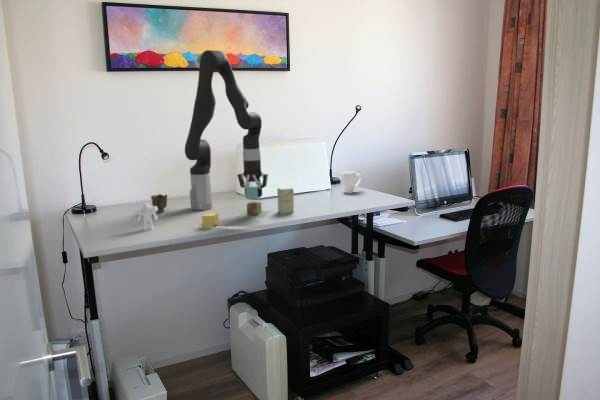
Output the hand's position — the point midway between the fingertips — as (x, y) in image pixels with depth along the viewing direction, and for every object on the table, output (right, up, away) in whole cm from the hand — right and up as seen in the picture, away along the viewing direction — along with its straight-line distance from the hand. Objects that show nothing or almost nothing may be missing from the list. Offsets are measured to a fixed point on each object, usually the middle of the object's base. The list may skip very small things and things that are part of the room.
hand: (253, 196), depth 210 cm
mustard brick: (-17, -13, -12) cm, 24 cm away
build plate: (0, -9, +2) cm, 9 cm away
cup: (-46, -7, +15) cm, 49 cm away
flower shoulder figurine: (-42, -14, -14) cm, 47 cm away
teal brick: (0, -1, 0) cm, 0 cm away
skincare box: (+14, -8, +5) cm, 17 cm away
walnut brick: (0, -8, +2) cm, 8 cm away
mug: (+49, +3, +50) cm, 70 cm away
